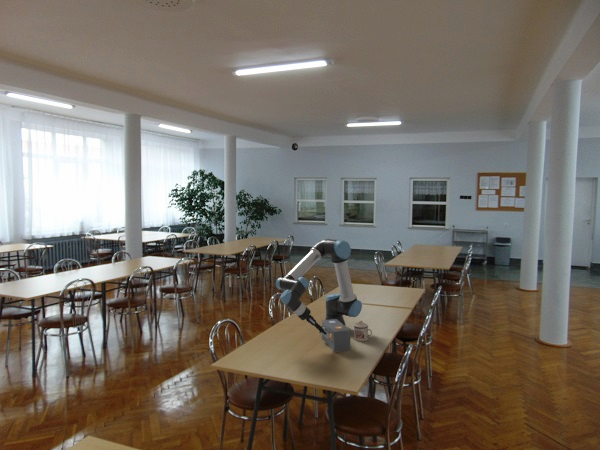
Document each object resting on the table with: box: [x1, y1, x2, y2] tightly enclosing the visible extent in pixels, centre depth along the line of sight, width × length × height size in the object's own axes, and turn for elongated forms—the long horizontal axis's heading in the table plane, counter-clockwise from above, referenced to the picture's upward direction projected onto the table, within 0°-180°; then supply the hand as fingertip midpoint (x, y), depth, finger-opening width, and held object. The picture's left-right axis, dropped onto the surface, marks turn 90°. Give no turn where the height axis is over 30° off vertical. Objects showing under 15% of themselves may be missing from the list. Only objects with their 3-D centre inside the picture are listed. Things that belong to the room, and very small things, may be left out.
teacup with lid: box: [353, 320, 373, 342], centre depth 265 cm, size 12×9×12 cm
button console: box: [321, 319, 351, 353], centre depth 257 cm, size 10×24×12 cm, turn 14°
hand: (328, 336), depth 249 cm, fingers closed
